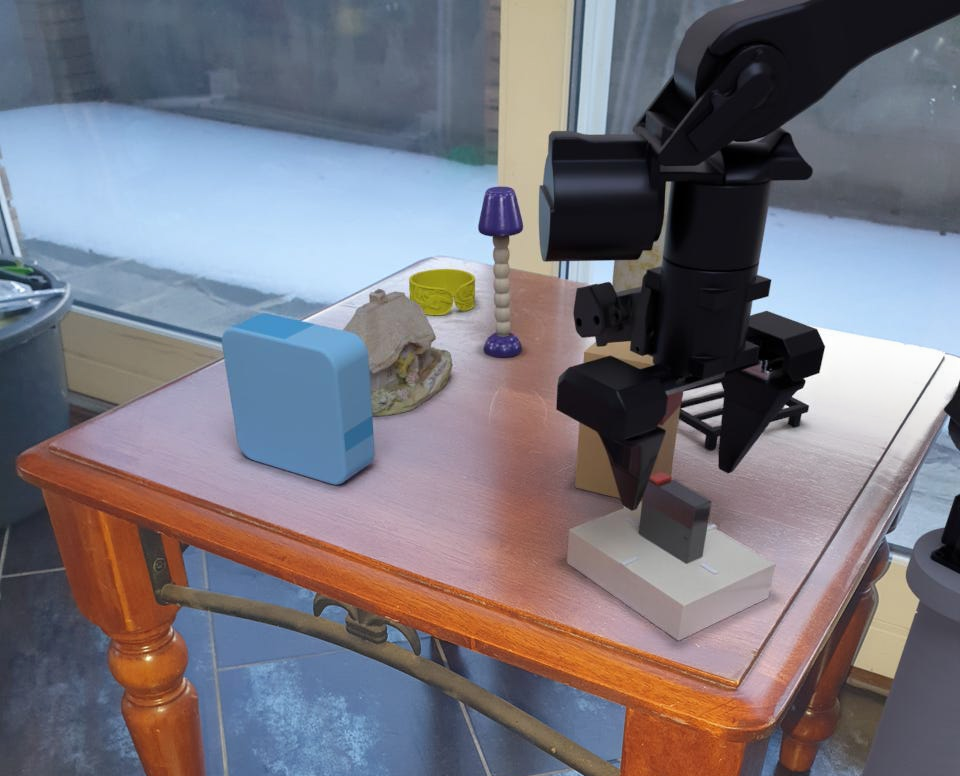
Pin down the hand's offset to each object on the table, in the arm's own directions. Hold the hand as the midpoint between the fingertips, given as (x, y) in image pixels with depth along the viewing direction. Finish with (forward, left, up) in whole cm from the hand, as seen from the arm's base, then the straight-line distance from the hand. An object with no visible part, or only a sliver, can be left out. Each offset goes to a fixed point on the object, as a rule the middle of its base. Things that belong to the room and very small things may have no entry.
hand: (678, 488), depth 69 cm
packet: (+13, -7, -8) cm, 16 cm away
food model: (+37, -33, -8) cm, 50 cm away
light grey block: (0, 0, -8) cm, 8 cm away
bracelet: (+60, -20, -8) cm, 64 cm away
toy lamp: (+44, -17, -8) cm, 48 cm away
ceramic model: (+42, -1, -8) cm, 43 cm away
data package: (+32, +13, -8) cm, 35 cm away
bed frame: (+22, -24, -8) cm, 33 cm away
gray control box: (0, 0, -5) cm, 5 cm away
